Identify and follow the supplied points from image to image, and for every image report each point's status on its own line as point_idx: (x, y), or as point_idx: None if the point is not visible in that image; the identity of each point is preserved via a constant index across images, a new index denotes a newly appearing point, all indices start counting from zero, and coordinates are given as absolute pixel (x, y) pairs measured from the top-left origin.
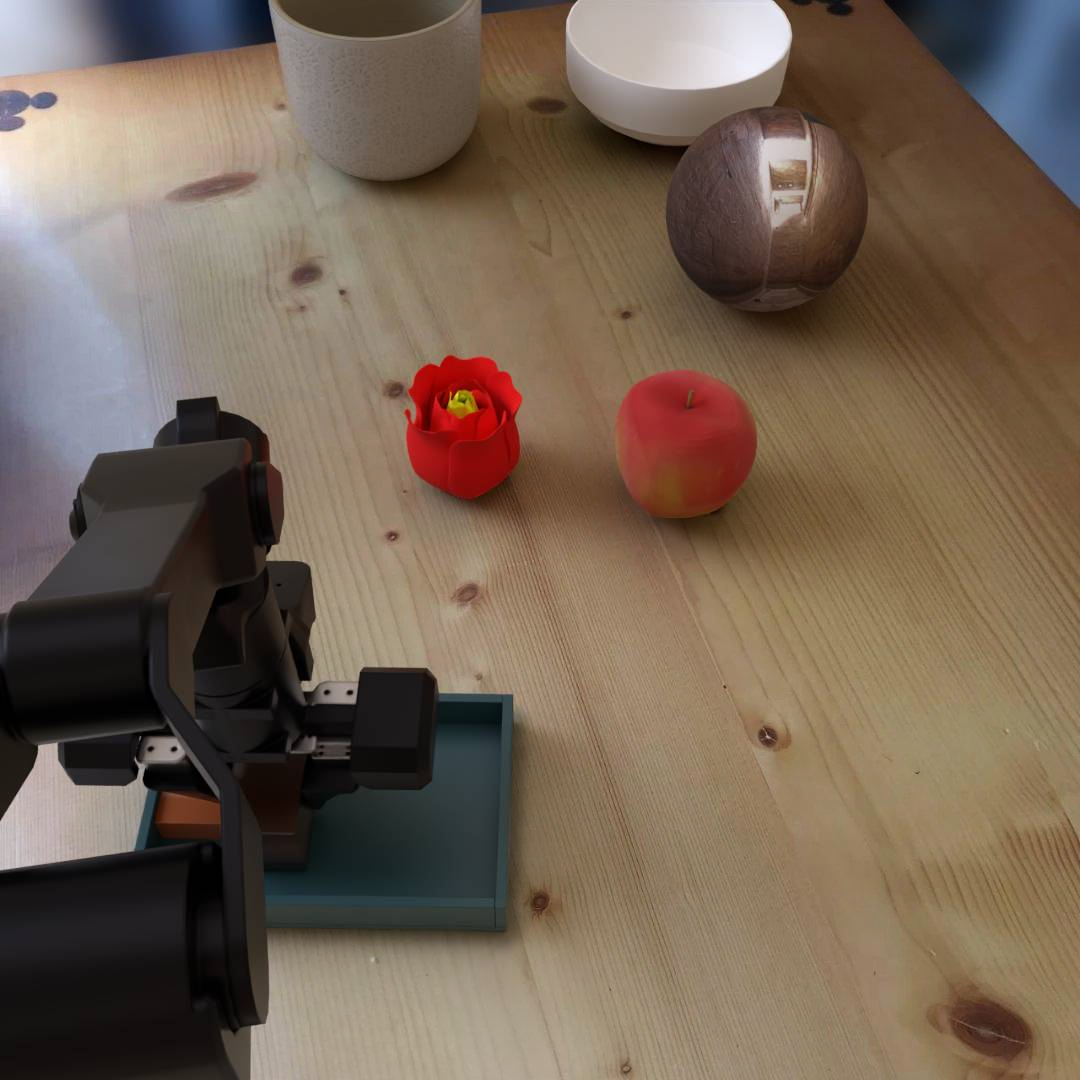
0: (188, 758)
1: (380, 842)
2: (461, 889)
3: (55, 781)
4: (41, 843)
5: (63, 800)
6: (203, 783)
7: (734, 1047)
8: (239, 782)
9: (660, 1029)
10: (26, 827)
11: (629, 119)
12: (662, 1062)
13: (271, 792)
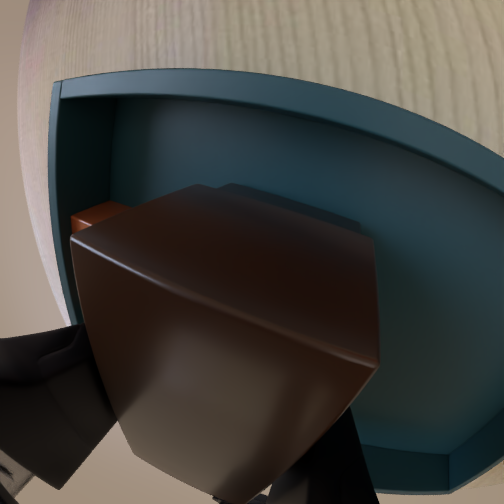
0: (15, 493)
1: (393, 394)
2: (440, 439)
3: (39, 173)
4: (46, 237)
5: (46, 196)
6: (64, 474)
7: (491, 481)
8: (134, 430)
9: (474, 480)
10: (36, 218)
11: None
12: (461, 487)
13: (198, 472)
